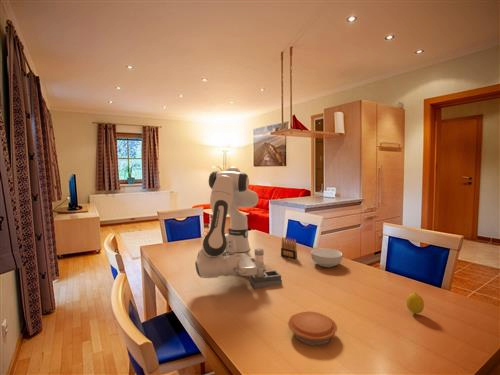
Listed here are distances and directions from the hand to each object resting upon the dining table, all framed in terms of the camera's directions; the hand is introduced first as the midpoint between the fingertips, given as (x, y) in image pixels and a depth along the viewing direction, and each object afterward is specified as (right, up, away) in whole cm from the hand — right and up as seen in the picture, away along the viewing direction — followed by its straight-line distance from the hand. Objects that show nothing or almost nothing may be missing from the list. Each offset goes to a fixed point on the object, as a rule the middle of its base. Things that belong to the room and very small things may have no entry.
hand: (261, 262), depth 132 cm
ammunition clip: (+18, -7, +37) cm, 42 cm away
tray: (-6, -9, +15) cm, 19 cm away
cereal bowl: (+37, -8, +24) cm, 45 cm away
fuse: (-1, -8, 0) cm, 8 cm away
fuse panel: (+2, -10, +1) cm, 10 cm away
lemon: (+55, -12, -28) cm, 63 cm away
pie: (+15, -13, -40) cm, 45 cm away
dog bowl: (-28, -8, +36) cm, 46 cm away
